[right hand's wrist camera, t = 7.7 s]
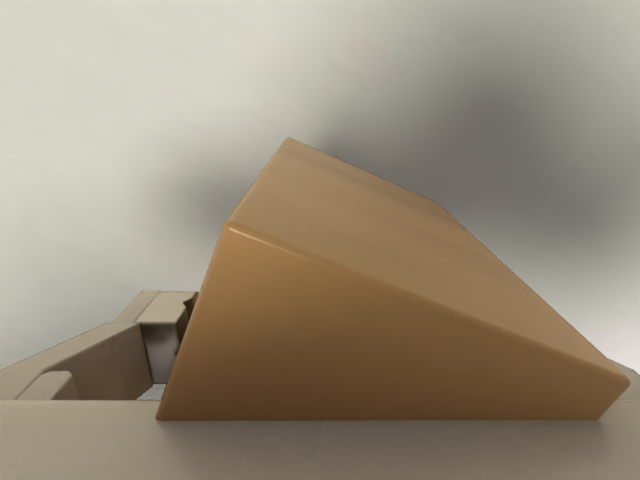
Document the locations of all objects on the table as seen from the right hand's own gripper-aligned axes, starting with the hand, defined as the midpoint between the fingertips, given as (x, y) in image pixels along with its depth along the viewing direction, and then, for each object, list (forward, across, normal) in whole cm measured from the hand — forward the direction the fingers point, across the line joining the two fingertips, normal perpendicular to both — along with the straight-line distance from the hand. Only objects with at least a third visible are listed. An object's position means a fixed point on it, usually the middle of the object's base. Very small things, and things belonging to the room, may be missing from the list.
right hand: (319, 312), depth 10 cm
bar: (+3, -3, -7) cm, 8 cm away
